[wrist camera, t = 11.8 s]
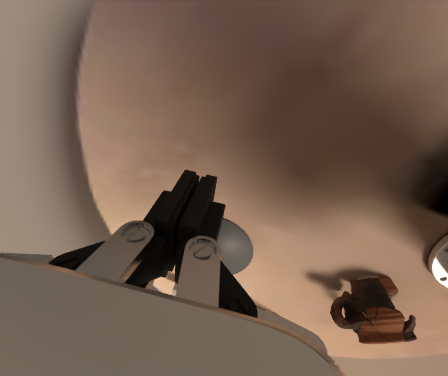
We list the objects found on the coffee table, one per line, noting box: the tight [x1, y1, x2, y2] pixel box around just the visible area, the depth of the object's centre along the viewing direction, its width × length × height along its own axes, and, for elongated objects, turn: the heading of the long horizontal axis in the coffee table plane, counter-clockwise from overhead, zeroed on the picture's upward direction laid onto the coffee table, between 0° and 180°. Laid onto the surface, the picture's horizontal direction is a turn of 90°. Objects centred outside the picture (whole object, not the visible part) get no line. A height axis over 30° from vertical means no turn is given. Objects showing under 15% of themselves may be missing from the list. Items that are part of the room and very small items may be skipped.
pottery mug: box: [330, 277, 417, 344], centre depth 38 cm, size 12×9×8 cm
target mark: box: [217, 218, 253, 275], centre depth 39 cm, size 13×13×1 cm
